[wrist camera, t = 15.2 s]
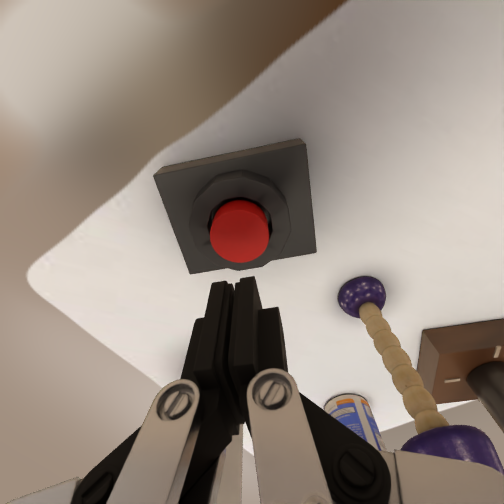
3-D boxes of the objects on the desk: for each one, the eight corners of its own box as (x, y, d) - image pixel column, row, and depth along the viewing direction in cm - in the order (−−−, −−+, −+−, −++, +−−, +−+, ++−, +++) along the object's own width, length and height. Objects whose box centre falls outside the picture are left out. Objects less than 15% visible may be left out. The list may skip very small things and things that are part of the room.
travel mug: (204, 340, 29) (139, 709, 12) (255, 366, 31) (262, 712, 14) (173, 372, 32) (82, 716, 14) (222, 394, 34) (194, 718, 16)
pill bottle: (317, 415, 36) (338, 516, 28) (332, 390, 33) (360, 492, 25) (357, 421, 37) (389, 520, 28) (375, 395, 34) (417, 497, 26)
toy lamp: (398, 288, 26) (583, 539, 12) (366, 322, 28) (490, 571, 14) (355, 269, 25) (500, 520, 11) (326, 306, 27) (413, 558, 13)
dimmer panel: (529, 314, 28) (559, 339, 25) (508, 368, 32) (532, 395, 29) (422, 329, 29) (440, 354, 26) (415, 380, 33) (430, 407, 30)
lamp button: (262, 194, 18) (263, 204, 16) (271, 244, 20) (273, 257, 18) (206, 205, 18) (202, 216, 17) (220, 253, 20) (218, 267, 18)
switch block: (300, 137, 19) (311, 148, 16) (311, 239, 23) (322, 266, 20) (161, 167, 20) (143, 183, 17) (194, 260, 24) (185, 288, 21)
